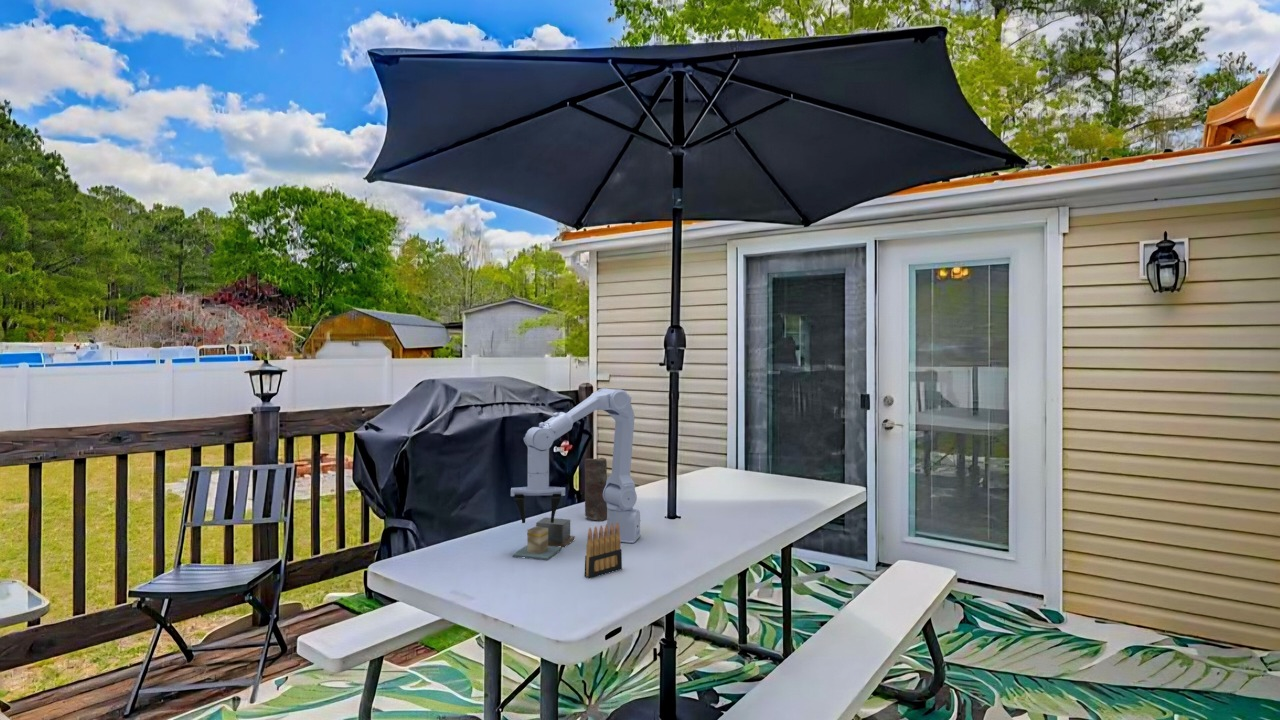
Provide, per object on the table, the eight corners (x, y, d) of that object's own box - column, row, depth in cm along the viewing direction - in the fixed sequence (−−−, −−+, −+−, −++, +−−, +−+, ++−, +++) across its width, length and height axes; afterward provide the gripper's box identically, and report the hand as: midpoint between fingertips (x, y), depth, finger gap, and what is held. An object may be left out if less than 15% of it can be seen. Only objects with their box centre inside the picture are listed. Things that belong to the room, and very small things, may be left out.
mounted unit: (574, 539, 196) (574, 519, 196) (564, 547, 188) (564, 526, 188) (542, 536, 198) (542, 516, 198) (531, 544, 191) (531, 523, 190)
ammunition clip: (588, 578, 163) (589, 529, 163) (584, 576, 164) (584, 527, 164) (622, 569, 170) (622, 521, 170) (617, 567, 171) (617, 520, 171)
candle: (580, 520, 218) (581, 458, 218) (589, 515, 225) (589, 455, 225) (603, 522, 216) (603, 459, 215) (610, 516, 223) (611, 456, 222)
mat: (561, 549, 186) (561, 547, 186) (547, 560, 176) (547, 558, 176) (528, 546, 189) (528, 544, 189) (512, 556, 179) (512, 554, 179)
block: (548, 549, 183) (548, 527, 183) (540, 554, 180) (540, 531, 180) (535, 548, 185) (535, 526, 185) (527, 552, 181) (527, 529, 181)
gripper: (565, 469, 187) (565, 518, 187) (512, 469, 186) (512, 518, 186) (564, 473, 180) (564, 524, 180) (509, 474, 179) (509, 525, 179)
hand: (538, 522), depth 182 cm, fingers open, 7 cm apart
